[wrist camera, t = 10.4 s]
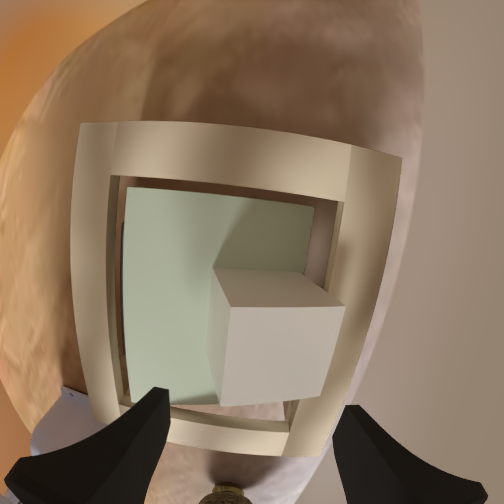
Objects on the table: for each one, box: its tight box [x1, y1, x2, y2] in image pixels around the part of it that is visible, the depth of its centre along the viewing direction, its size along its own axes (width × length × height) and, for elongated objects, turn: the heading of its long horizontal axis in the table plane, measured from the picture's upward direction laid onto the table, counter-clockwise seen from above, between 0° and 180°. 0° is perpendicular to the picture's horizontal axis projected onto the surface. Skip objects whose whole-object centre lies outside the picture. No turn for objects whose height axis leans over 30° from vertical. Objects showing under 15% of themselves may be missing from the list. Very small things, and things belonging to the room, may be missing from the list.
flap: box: [120, 187, 315, 405], centre depth 16 cm, size 10×12×3 cm
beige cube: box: [205, 268, 346, 407], centre depth 13 cm, size 4×4×4 cm
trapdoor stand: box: [70, 121, 402, 457], centre depth 16 cm, size 15×18×7 cm
